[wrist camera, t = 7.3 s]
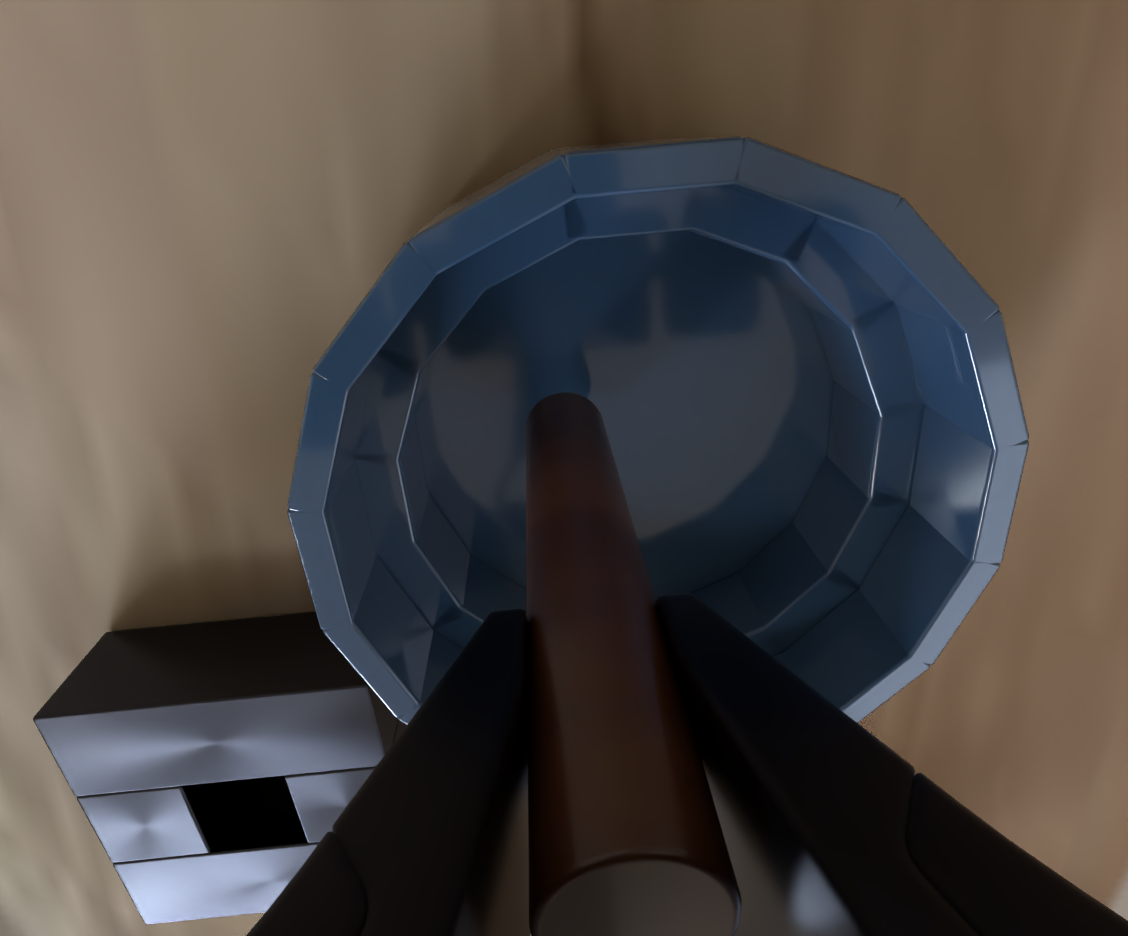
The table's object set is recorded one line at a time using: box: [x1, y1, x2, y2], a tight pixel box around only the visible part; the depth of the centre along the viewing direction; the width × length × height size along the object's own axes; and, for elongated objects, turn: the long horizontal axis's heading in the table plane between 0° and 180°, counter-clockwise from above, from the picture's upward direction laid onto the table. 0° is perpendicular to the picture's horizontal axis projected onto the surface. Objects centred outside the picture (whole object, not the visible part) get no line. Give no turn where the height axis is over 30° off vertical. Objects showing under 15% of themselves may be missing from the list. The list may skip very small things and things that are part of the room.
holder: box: [33, 612, 407, 924], centre depth 18 cm, size 7×7×3 cm
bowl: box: [287, 136, 1029, 724], centre depth 14 cm, size 12×12×5 cm
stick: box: [525, 392, 742, 936], centre depth 10 cm, size 2×2×10 cm
